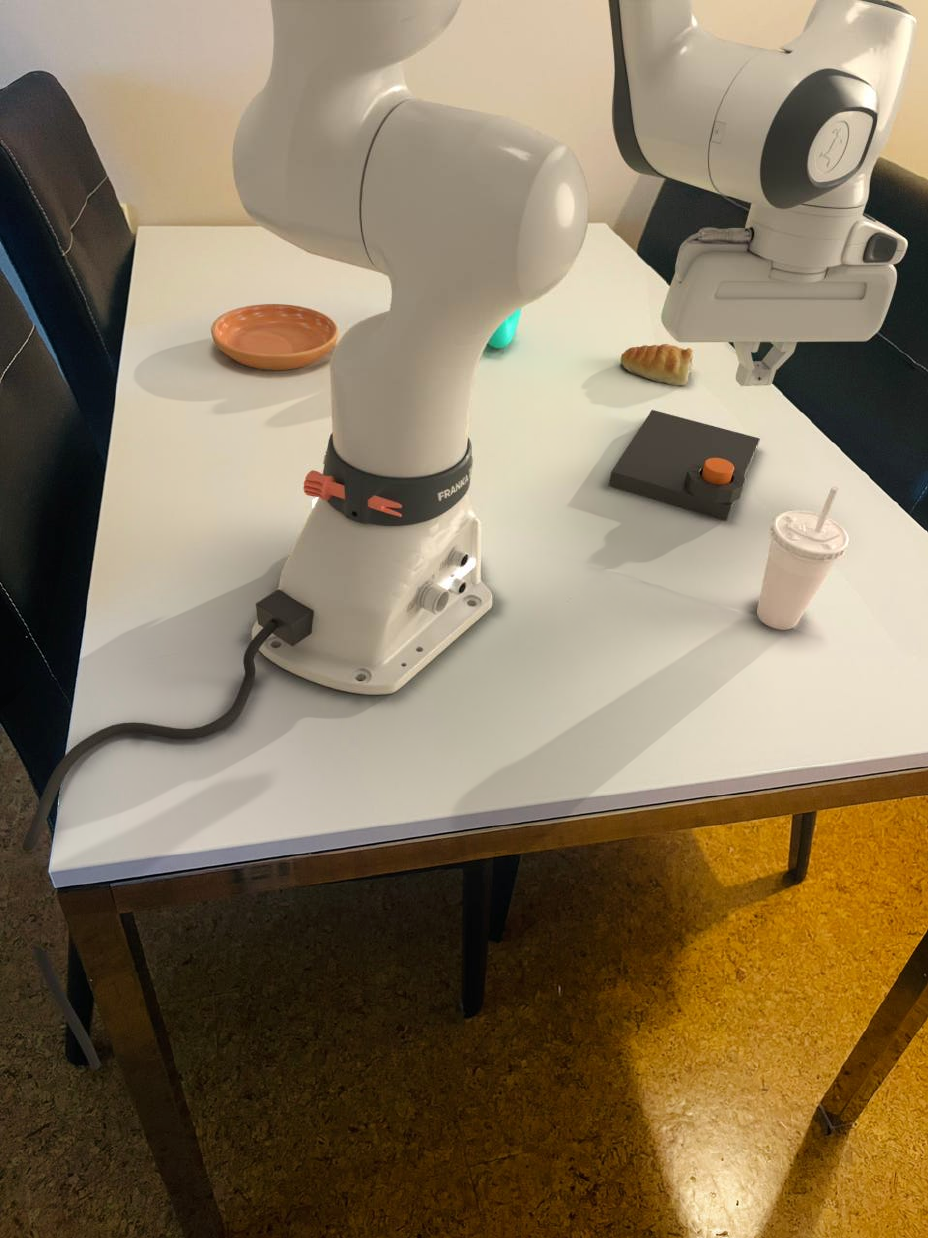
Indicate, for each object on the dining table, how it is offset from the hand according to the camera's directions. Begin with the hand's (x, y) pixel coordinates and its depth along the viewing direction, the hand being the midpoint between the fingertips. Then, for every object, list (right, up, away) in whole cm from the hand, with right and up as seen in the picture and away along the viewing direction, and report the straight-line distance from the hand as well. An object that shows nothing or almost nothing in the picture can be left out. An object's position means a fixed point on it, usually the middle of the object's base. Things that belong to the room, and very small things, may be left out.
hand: (752, 383), depth 83 cm
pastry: (-1, +10, +35) cm, 36 cm away
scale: (-2, -5, +17) cm, 18 cm away
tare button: (-1, -7, +10) cm, 12 cm away
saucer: (-52, +13, +33) cm, 62 cm away
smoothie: (+2, -22, -2) cm, 22 cm away
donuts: (-25, +16, +39) cm, 49 cm away
